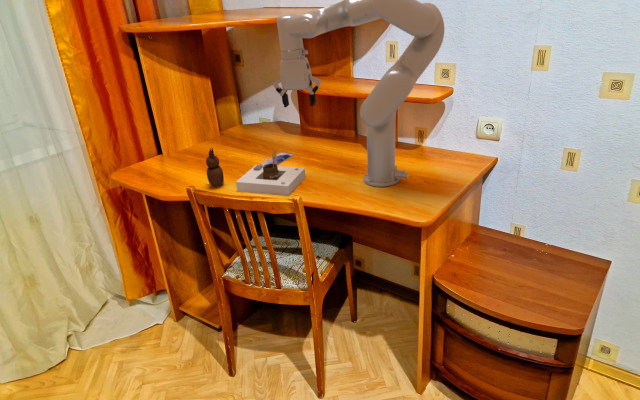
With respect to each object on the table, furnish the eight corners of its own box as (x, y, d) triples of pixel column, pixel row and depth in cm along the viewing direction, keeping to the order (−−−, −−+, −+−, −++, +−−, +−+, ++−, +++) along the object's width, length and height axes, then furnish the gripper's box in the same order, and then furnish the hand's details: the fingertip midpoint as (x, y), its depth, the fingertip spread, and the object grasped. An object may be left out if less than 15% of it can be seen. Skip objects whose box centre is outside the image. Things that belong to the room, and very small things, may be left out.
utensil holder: (260, 185, 164) (256, 154, 158) (272, 179, 168) (268, 148, 163) (272, 188, 160) (268, 157, 155) (284, 182, 165) (280, 151, 159)
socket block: (305, 176, 168) (304, 166, 166) (289, 195, 154) (287, 183, 152) (257, 173, 174) (255, 162, 172) (237, 190, 161) (235, 179, 159)
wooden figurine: (226, 187, 164) (218, 148, 158) (209, 190, 163) (202, 151, 156) (224, 180, 170) (217, 142, 164) (208, 183, 169) (200, 145, 162)
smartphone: (294, 154, 189) (272, 167, 178) (294, 156, 189) (272, 169, 178) (280, 152, 192) (258, 164, 181) (280, 153, 193) (258, 166, 182)
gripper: (321, 51, 150) (326, 102, 158) (273, 54, 156) (280, 103, 163) (314, 55, 144) (320, 108, 151) (264, 58, 149) (272, 109, 157)
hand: (299, 105), depth 157 cm, fingers open, 9 cm apart
